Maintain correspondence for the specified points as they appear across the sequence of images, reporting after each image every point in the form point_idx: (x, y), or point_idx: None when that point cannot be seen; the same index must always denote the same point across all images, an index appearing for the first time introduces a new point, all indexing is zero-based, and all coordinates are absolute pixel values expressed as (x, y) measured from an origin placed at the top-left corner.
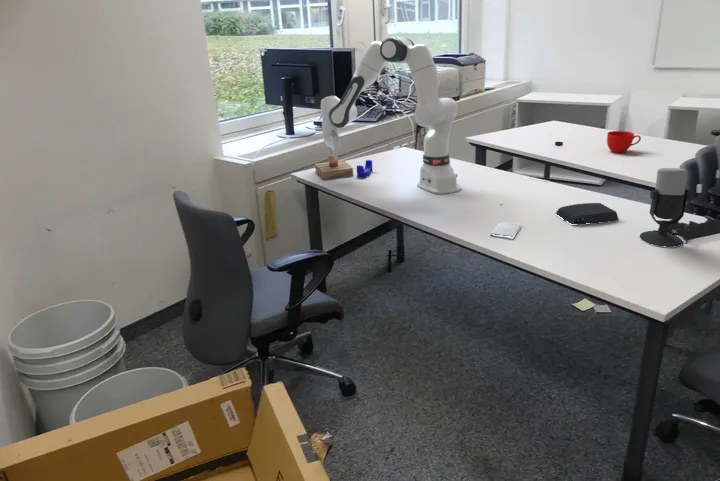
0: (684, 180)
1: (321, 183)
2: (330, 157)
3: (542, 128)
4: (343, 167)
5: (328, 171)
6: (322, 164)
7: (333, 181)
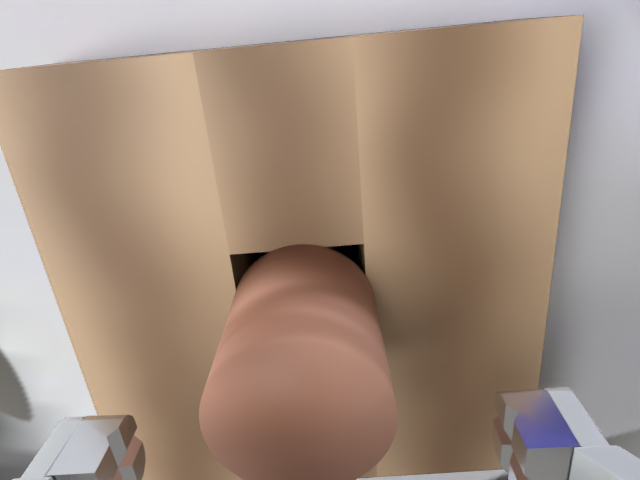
0: None
1: (614, 419)
2: (355, 469)
3: None
4: (464, 179)
5: None
6: (172, 425)
7: (624, 309)
